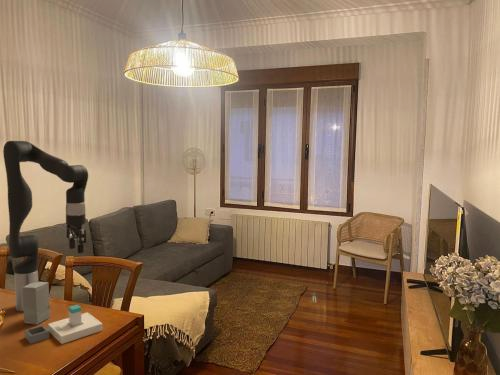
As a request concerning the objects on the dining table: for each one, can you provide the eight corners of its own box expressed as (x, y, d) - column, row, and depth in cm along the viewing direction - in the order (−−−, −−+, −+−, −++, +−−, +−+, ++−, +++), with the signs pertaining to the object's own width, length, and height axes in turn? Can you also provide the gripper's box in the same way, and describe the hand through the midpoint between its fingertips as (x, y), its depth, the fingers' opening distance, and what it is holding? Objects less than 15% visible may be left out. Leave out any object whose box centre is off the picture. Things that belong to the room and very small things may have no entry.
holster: (25, 337, 152) (24, 330, 151) (43, 332, 156) (43, 324, 156) (30, 344, 147) (30, 336, 147) (49, 338, 152) (49, 330, 152)
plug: (69, 330, 158) (68, 307, 157) (78, 327, 161) (77, 304, 160) (72, 333, 156) (72, 309, 155) (81, 330, 158) (81, 307, 157)
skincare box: (37, 325, 162) (36, 288, 160) (22, 323, 163) (20, 286, 161) (51, 316, 170) (50, 281, 168) (37, 314, 171) (35, 279, 169)
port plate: (48, 330, 157) (47, 323, 157) (87, 318, 169) (87, 312, 169) (61, 344, 148) (61, 336, 147) (102, 330, 159) (102, 323, 159)
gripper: (59, 211, 166) (60, 248, 168) (73, 216, 156) (74, 256, 158) (77, 209, 171) (78, 245, 173) (92, 214, 161) (92, 252, 163)
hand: (76, 250), depth 165 cm, fingers open, 8 cm apart
